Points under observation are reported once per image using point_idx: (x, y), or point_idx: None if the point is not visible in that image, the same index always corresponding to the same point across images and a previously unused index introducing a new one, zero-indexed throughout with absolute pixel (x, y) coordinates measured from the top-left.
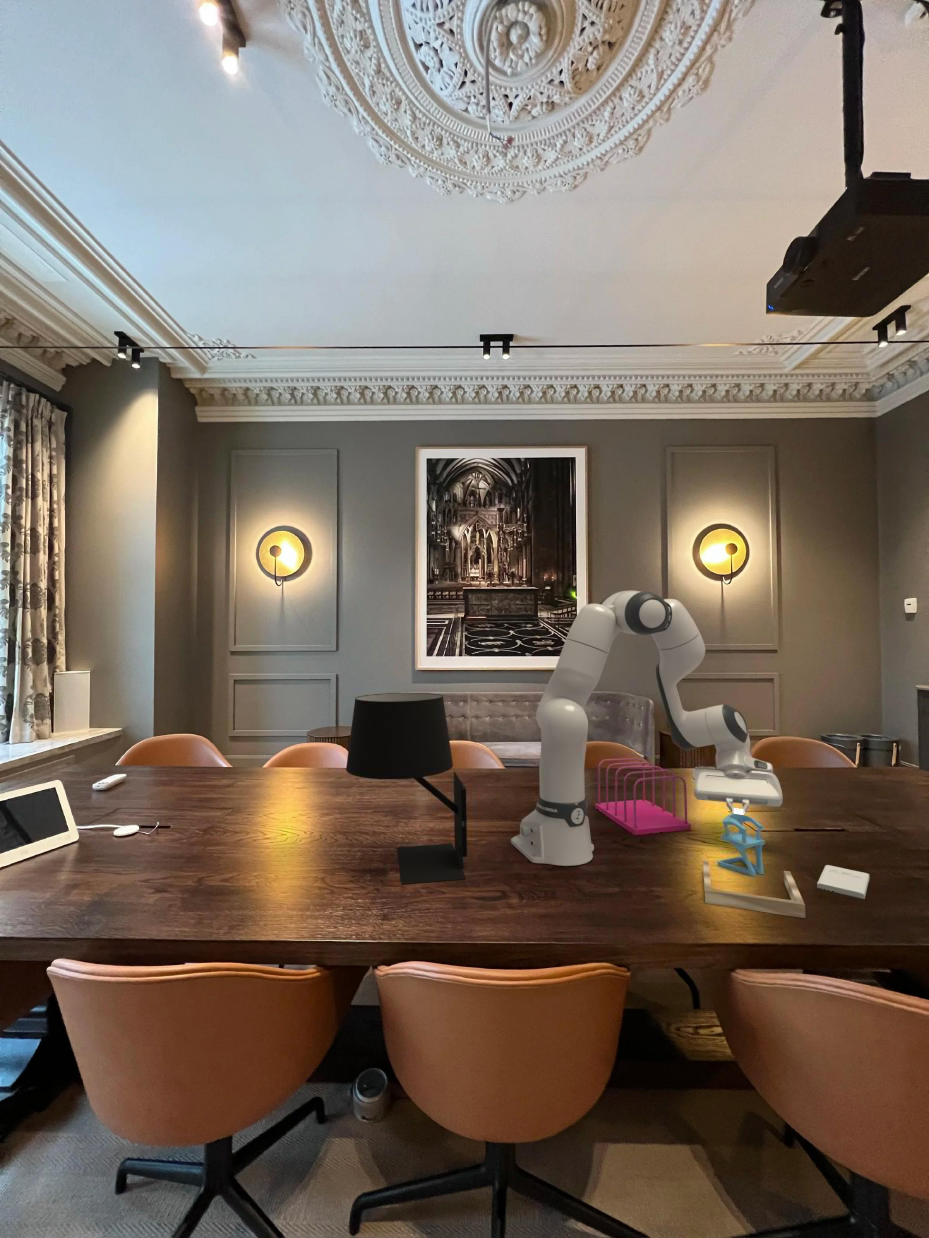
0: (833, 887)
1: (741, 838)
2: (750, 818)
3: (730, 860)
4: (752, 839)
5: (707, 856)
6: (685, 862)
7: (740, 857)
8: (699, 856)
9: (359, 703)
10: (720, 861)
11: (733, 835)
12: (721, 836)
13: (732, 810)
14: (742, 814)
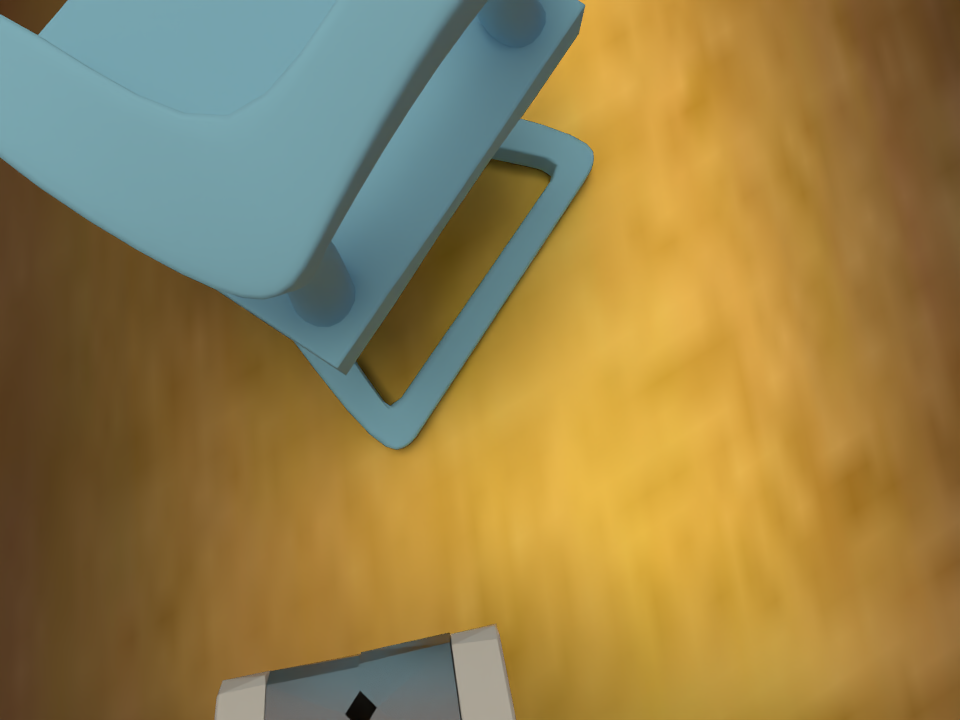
0: None
1: (297, 46)
2: (24, 34)
3: (481, 284)
4: (144, 84)
5: (726, 367)
6: (880, 78)
7: (392, 407)
8: (799, 321)
9: None
10: (564, 161)
11: (421, 124)
12: (578, 8)
13: (503, 700)
14: (280, 678)
